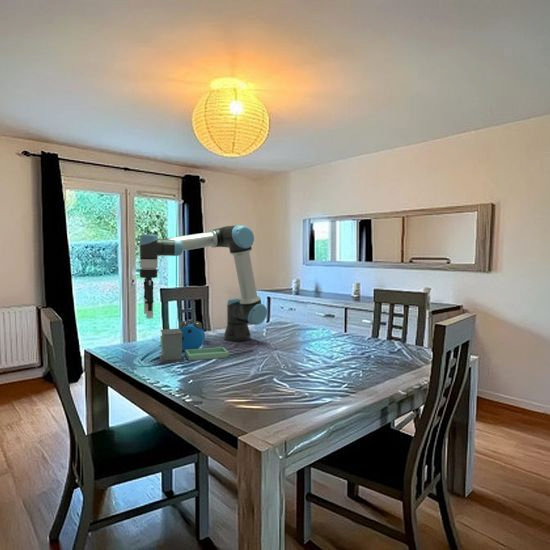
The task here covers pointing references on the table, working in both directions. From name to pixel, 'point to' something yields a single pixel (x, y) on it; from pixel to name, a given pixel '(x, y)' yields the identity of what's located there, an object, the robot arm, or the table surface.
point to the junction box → (171, 346)
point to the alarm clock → (192, 335)
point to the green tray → (206, 353)
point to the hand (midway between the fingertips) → (148, 315)
